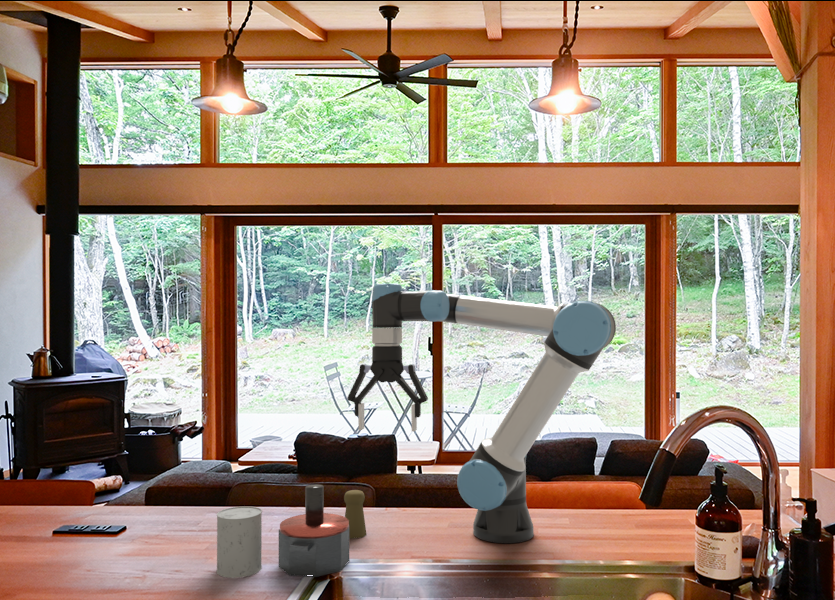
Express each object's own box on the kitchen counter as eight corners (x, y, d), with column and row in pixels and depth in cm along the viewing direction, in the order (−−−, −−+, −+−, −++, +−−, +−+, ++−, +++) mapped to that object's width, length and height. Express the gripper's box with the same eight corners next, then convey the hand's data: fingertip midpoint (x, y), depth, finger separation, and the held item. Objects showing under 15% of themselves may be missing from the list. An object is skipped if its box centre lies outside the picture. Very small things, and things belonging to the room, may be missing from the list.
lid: (357, 527, 152) (357, 480, 152) (336, 550, 137) (336, 497, 137) (295, 524, 155) (295, 477, 155) (268, 545, 140) (268, 493, 140)
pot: (357, 551, 153) (357, 516, 153) (331, 582, 135) (331, 543, 135) (299, 547, 156) (299, 513, 156) (266, 577, 138) (266, 539, 138)
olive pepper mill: (362, 539, 162) (362, 494, 162) (339, 537, 163) (339, 493, 163) (369, 531, 168) (369, 488, 168) (346, 530, 169) (346, 487, 169)
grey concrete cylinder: (221, 562, 147) (222, 507, 147) (264, 560, 148) (265, 505, 148) (212, 578, 137) (212, 519, 138) (258, 577, 138) (258, 518, 139)
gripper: (438, 344, 166) (439, 428, 165) (344, 344, 171) (344, 426, 170) (433, 345, 158) (434, 433, 158) (335, 345, 163) (335, 431, 162)
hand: (387, 430), depth 164 cm, fingers open, 13 cm apart
